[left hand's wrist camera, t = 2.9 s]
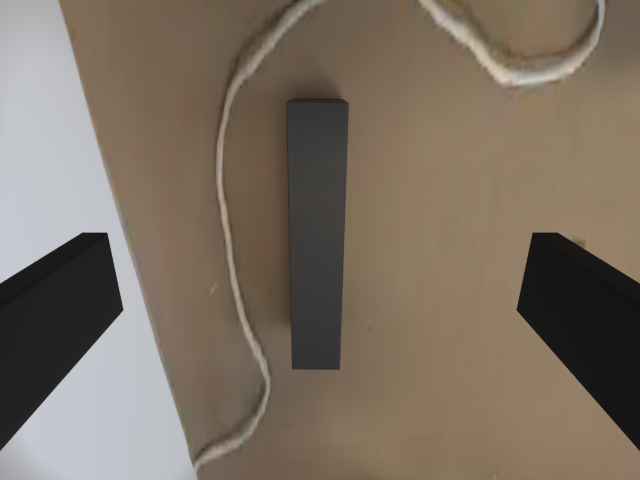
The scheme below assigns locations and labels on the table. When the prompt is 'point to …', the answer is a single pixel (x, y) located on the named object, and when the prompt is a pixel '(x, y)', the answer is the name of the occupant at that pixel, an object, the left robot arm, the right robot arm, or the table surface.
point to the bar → (316, 228)
